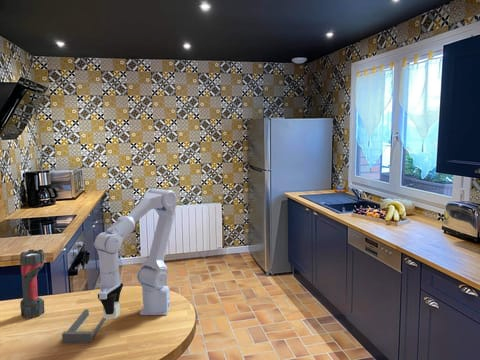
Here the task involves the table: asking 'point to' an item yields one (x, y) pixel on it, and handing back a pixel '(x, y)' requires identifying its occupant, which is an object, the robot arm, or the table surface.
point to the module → (115, 313)
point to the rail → (80, 336)
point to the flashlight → (31, 283)
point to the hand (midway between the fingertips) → (112, 310)
